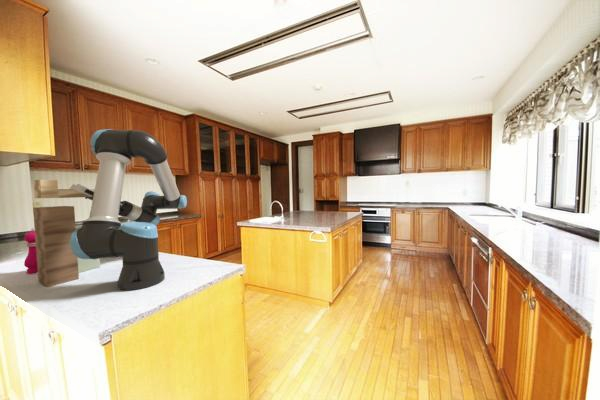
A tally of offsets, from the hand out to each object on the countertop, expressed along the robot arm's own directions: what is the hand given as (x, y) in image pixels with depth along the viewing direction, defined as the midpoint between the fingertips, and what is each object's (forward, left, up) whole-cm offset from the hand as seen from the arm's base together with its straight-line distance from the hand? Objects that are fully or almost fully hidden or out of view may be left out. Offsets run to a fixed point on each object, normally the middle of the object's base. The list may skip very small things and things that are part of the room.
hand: (73, 186), depth 97 cm
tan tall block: (0, +2, -5) cm, 5 cm away
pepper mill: (+25, +6, -38) cm, 46 cm away
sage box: (+8, -3, -38) cm, 39 cm away
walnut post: (0, +6, -38) cm, 39 cm away
